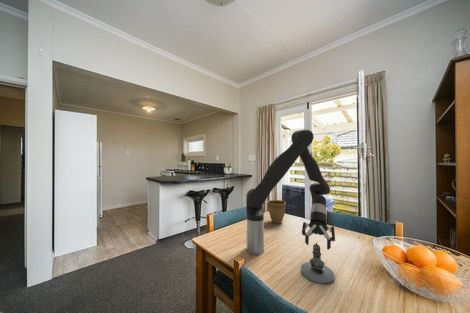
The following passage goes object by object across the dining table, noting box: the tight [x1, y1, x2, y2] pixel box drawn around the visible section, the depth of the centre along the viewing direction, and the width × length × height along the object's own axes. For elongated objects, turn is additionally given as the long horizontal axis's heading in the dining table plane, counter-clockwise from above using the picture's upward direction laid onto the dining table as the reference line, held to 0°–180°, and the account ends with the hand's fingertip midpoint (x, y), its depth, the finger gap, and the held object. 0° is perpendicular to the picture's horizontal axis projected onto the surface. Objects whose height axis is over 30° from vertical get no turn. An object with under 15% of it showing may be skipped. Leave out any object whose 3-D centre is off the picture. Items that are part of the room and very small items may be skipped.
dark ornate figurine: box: [309, 242, 325, 274], centre depth 75 cm, size 6×6×12 cm
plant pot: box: [266, 199, 287, 224], centre depth 138 cm, size 15×15×16 cm
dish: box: [300, 261, 335, 285], centre depth 75 cm, size 13×13×1 cm
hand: (317, 246), depth 79 cm, fingers open, 8 cm apart
